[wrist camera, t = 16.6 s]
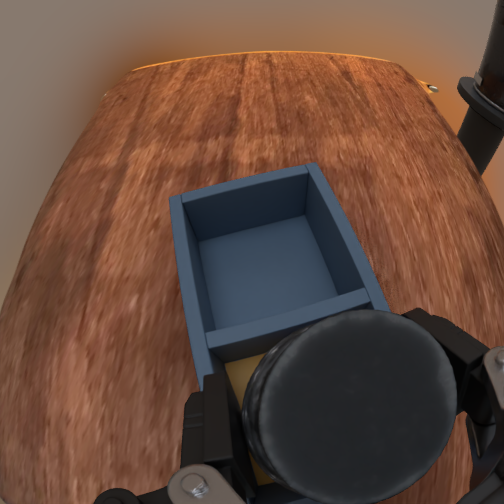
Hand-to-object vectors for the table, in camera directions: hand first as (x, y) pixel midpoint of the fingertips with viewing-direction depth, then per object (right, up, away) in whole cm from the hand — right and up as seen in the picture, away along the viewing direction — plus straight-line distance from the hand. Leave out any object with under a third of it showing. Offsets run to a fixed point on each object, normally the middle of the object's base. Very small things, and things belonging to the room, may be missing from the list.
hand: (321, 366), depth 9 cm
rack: (0, -2, +8) cm, 9 cm away
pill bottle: (+1, -5, +6) cm, 8 cm away
